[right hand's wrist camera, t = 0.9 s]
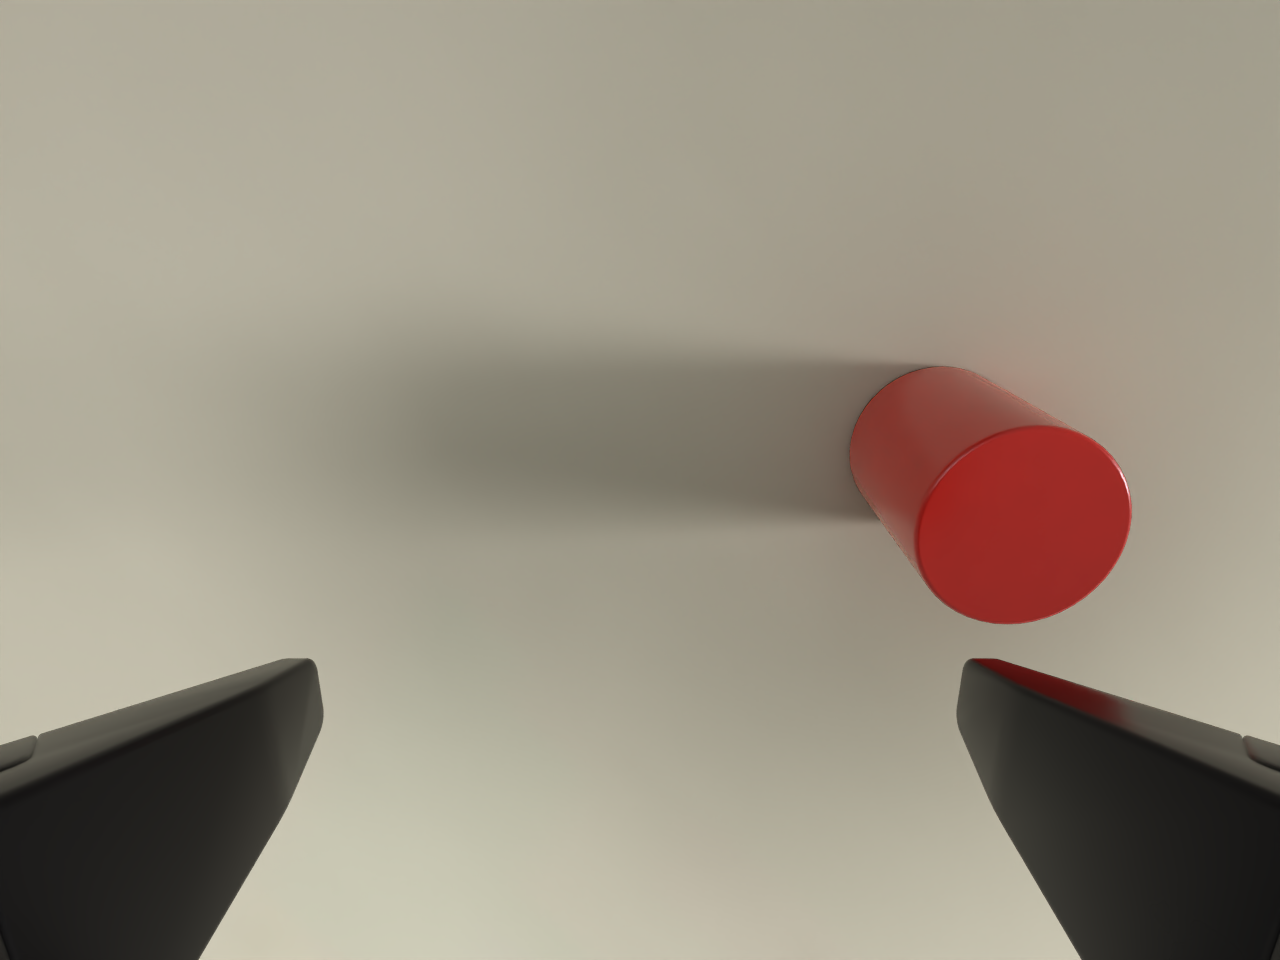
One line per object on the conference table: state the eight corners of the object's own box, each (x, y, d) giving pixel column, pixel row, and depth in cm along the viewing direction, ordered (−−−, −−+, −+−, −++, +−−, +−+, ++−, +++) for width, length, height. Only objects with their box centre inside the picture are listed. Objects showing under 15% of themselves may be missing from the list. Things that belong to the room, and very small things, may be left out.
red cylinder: (835, 389, 18) (899, 457, 14) (1004, 346, 18) (1126, 401, 13) (864, 539, 19) (931, 646, 15) (1022, 501, 19) (1140, 599, 14)
